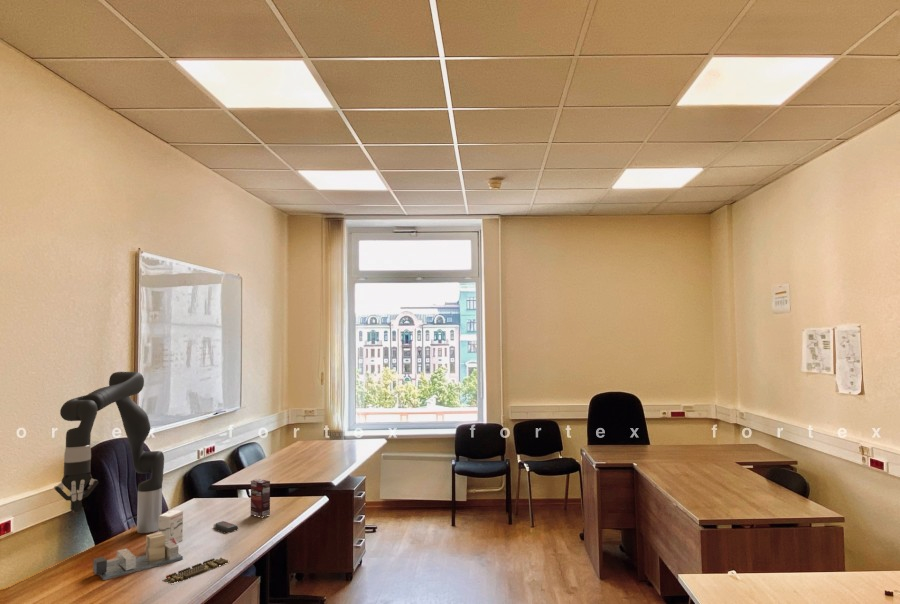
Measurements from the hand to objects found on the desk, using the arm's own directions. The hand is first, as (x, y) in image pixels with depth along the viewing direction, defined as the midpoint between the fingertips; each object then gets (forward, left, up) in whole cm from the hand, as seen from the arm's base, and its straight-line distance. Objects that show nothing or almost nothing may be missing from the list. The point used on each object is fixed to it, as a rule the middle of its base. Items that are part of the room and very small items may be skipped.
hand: (75, 511), depth 184 cm
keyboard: (+21, +32, -24) cm, 45 cm away
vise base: (0, +20, -23) cm, 30 cm away
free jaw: (0, +12, -22) cm, 25 cm away
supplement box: (-24, +76, -23) cm, 83 cm away
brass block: (0, +25, -22) cm, 33 cm away
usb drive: (-17, +57, -24) cm, 64 cm away
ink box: (-16, +35, -23) cm, 45 cm away
